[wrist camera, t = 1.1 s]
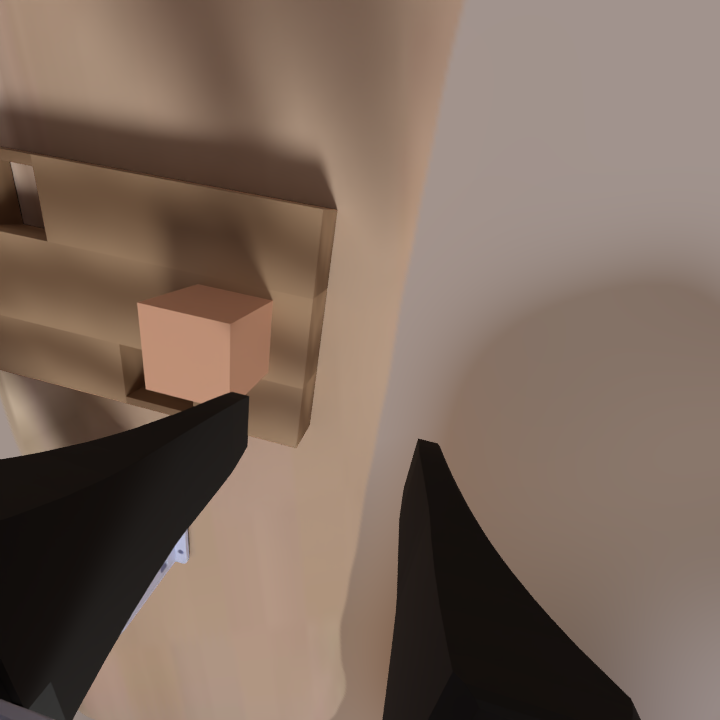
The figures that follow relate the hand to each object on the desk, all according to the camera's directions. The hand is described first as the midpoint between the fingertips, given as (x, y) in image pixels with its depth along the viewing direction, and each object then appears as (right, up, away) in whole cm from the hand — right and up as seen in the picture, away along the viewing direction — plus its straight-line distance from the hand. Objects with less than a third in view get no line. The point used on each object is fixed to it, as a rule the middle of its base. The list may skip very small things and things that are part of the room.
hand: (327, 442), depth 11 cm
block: (-5, +4, +7) cm, 10 cm away
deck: (-14, +7, +10) cm, 19 cm away
